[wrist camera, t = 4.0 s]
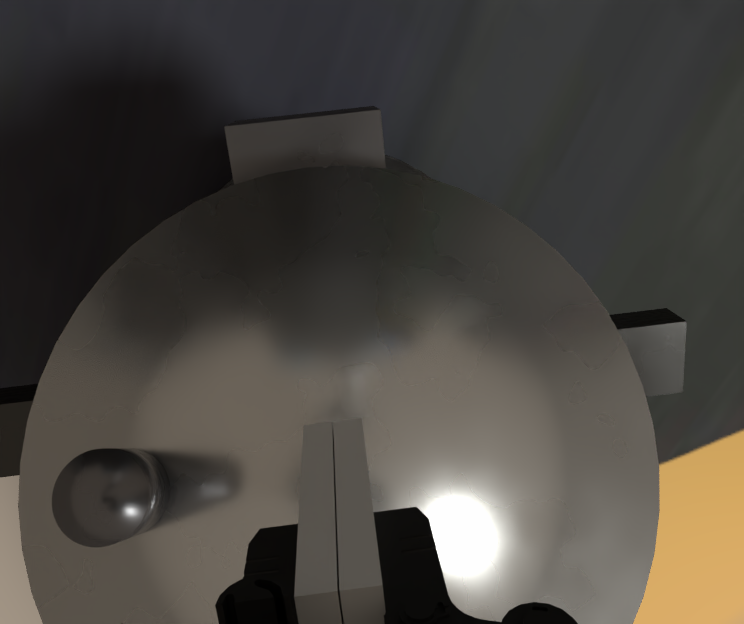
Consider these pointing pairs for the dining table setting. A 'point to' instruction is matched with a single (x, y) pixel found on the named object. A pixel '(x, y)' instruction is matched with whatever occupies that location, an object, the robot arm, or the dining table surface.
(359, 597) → the robot arm
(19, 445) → the steel pot
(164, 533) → the pot lid
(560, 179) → the dining table surface
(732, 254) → the dining table surface
